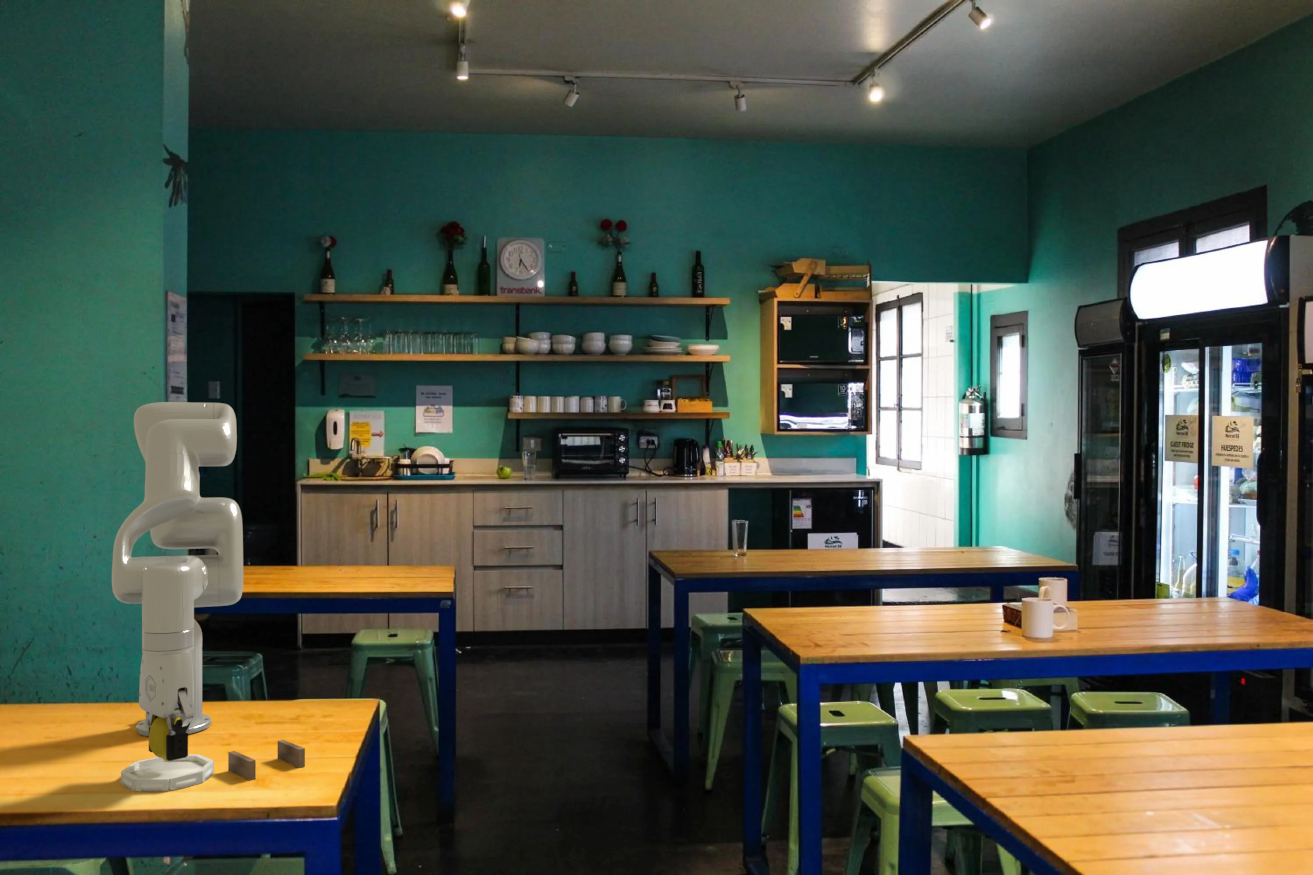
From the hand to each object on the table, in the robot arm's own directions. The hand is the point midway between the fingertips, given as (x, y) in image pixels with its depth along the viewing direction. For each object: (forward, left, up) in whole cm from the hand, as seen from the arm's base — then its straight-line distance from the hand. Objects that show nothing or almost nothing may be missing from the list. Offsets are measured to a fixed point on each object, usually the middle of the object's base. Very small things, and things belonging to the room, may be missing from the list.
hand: (168, 753), depth 174 cm
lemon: (0, 0, -1) cm, 1 cm away
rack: (+7, +13, -4) cm, 15 cm away
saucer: (0, 0, -4) cm, 4 cm away
